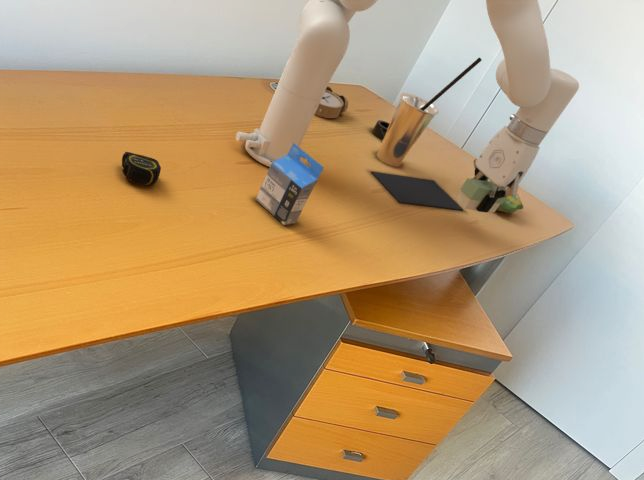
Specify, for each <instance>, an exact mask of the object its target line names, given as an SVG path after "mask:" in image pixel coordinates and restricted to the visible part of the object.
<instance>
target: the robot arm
mask: <svg viewBox="0 0 644 480" xmlns="http://www.w3.org/2000/svg"><path fill="white" fill-rule="evenodd" d="M377 2H378V0H308V1H307V2H306V4H305V6H304V8H302V11H301V13H300V16H299V19H298V37H297V41H296V43H295V45H294V47H293V49H292V52H291V54H290V56H289V58H288V60H287V62H286V64H285V66H284V69H283V70H282V74H281V76H280V79H279V80H278V81H279V82H278V84H277V86H276V89H275V91H274V94H273V95H272V99H271V101H270V103H269V105H268V108H267V110H266V113H265V115H264V117H263V119H262V122H261V124H260V127H259V128H254V130H253V132H249V133H247V132H244V131H237V132H236V134H235V140H236V142H240V143H241V142H242V143H245V146H244V148H245V150H246V152H247V154H248V155H249V156H250V157H251V158H253V159H254V160H255V161H257V162H259V163H260V164H262V165H264V166H266V167H268V168H270V166H271V163H273V162H274V161H276V160H278V159H280V158H282V157H284V156H285V155H287V154H288V153H289V151H290V149H291V147H292V145H293V143H295V144H296V145H297V146H298V147H299V148H301V145H302V142H303V140H304V138H305V136H306V134H307V132H308V129H309V128H310V126H311V123H312V121H313V119H314V117H315V112H316V110H317V108H318V106H319V104H320V101H321V99H322V97H323V95H324V92H325V90H326V88H327V86H329V84H330V81H331V80H332V79H333V76H334V75H335V72H336V71H337V69H338V68H339V65H340V64H341V63H342V61H343V59H344V57H345V55H346V53H347V50H348V47H349V44H350V36H351V35H350V33H351V32H350V31H351V30H350V25H349V23H350V21H351V20H352V19H353V17H354V16H355V14H356V13H357V12H364V11H366V10H368V9H370V8H372V6H374V5H375V4H377ZM485 3H486V12H487V16H488V19H489V22H490V25H491V27H492V29H493V31H494V32H495V35H496V37H497V39H498V41H499V44H500V47H501V51H502V53H503V57H504V58H503V59H502V60H501V61H500V62H499V63H498V65H497V67H496V70H495V80H496V83H497V85H498V87H499V88H500V90H501V91H502V92H503V93H504V94H505V96H506V97H507V99H508V100H509V101H510V102H511V104H513V105H514V106H516V107H519V108H518V110H517V111H516V112H515V113H513V114H511V115H510V116H509V121H510V122H509V123H508V125H504V126H503V127H501V128H500V129H499V130H498V131H497V132H496V134H494V136H493V137H492V138H491V139H490V140H489V142H488V143H487V144H486V146H485V147H484V148H483V150H482V151H481V152H480V154H479V155H478V157H477V158H475V159H474V160H473V166H474V177H473V178H472V179H477V180H483V181H487V180H488V179H490V180H491V181H492V182H493V183H494V186H493V188H492V190H491V192H490V194H489V195H486V196H485V197H484V199H483V200H482V202H481V203H480V204H479V206H478V207H477V210H476V211H477V212H479V213H489V212H488V211H489V210H490V209H491V208H492V206H493V205H494V203H495V202H496V201H497V199H501V198H503V197H507V196H516V195H517V194H518V189H519V184H520V183H521V181H522V180H523V179H524V177H525V176H526V174H527V173H528V171H529V169H530V168H531V166H532V165H533V163H534V161H535V160H536V157H537V155H538V153H539V150H540V148H541V147H540V144H541V143H542V142H543V141H544V139H545V138H546V136H547V135H548V133H549V132H550V130H551V129H552V128H553V126H554V125H555V123H556V122H557V121H558V119H559V118H560V116H561V115H562V114H563V112H564V111H565V109H566V108H567V107H568V106H569V104H570V102H571V101H572V99H573V98H574V97H575V95H576V94H577V93H578V91H579V88H580V83H579V81H578V80H577V79H576V78H575V77H574V76H572V75H570V74H569V73H567V72H564V71H562V70H561V69H557V68H551V58H550V50H549V43H548V39H547V34H546V29H545V26H544V22H543V16H542V12H541V8H540V5H539V4H540V3H539V0H485ZM507 186H508V187H509V189H508V190H506V188H507ZM499 187H500V189H499ZM498 189H499V191H498Z"/></svg>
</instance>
